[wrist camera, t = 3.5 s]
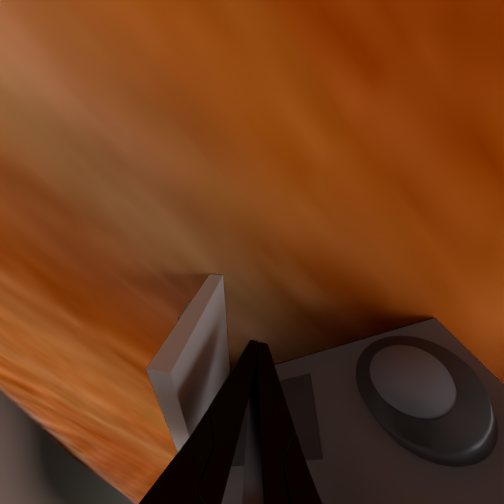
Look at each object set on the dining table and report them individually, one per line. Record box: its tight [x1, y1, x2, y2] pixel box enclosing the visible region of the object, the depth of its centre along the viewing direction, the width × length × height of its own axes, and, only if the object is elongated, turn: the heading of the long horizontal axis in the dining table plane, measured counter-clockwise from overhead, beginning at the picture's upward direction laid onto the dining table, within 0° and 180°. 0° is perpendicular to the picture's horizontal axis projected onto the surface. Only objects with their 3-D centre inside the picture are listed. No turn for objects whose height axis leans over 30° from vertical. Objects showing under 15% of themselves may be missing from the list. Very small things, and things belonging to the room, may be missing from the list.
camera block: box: [222, 318, 504, 504], centre depth 10 cm, size 14×10×7 cm
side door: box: [146, 274, 230, 452], centre depth 10 cm, size 10×1×6 cm, turn 0°
